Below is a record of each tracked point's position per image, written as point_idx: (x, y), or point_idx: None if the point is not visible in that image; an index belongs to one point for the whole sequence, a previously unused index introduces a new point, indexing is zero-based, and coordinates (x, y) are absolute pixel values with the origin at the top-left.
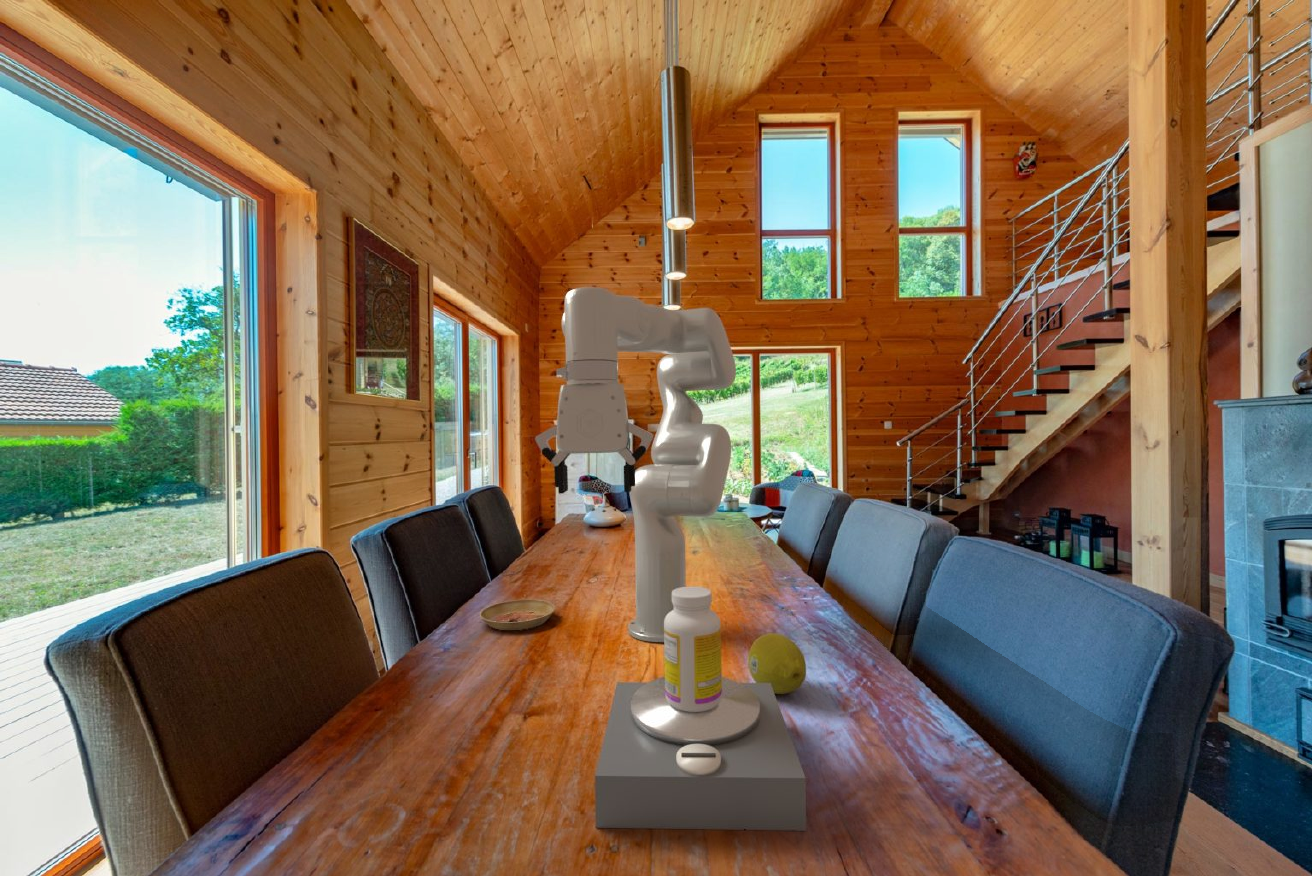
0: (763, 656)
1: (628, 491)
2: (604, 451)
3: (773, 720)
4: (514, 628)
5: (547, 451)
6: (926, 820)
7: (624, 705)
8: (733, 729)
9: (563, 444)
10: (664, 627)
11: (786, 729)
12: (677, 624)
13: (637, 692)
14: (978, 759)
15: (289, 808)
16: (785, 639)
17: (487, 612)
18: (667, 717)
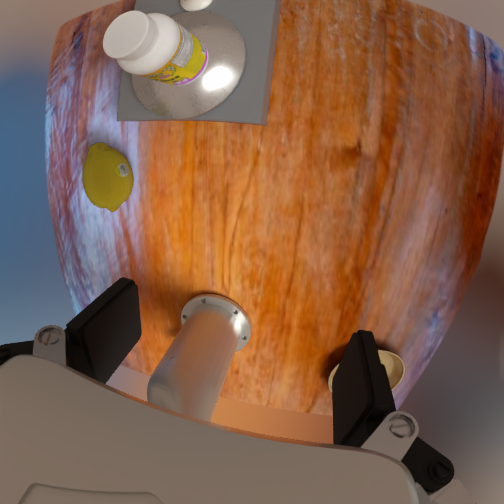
0: (110, 163)
1: (124, 278)
2: (103, 386)
3: None
4: None
5: (435, 471)
6: (95, 31)
7: (253, 72)
8: None
9: (385, 490)
10: (179, 33)
11: None
12: (162, 15)
13: (237, 76)
14: (51, 91)
15: (483, 70)
16: (85, 178)
17: (394, 381)
18: (211, 32)
